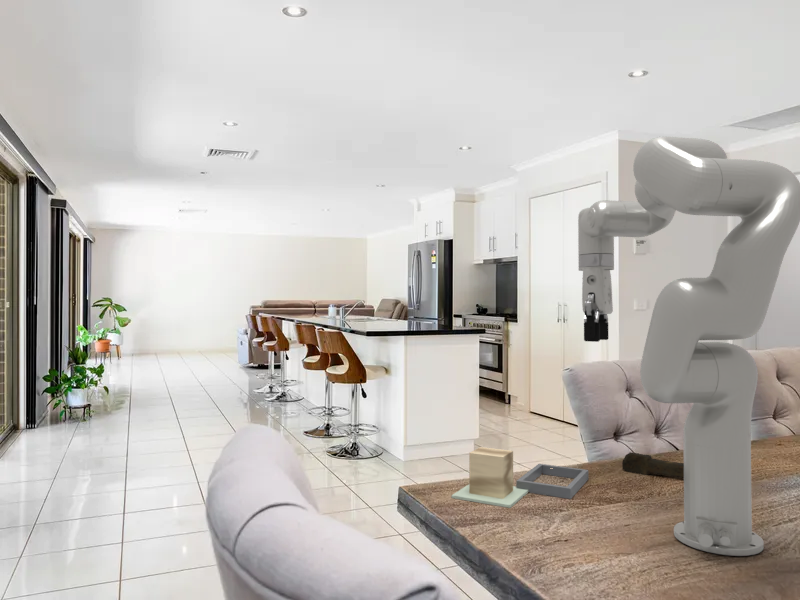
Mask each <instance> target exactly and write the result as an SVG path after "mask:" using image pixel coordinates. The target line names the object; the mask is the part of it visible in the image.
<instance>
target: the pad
mask: <svg viewBox="0 0 800 600" xmlns="http://www.w3.org/2000/svg"><path fill="white" fill-rule="evenodd" d="M526 495H528V490H525V489H519V488H516V485H513V491H512V492H511V493H510V494H509V495H507V496H506V497H505V498H504V499H501V498H495V497H489V496H483V495H477V494H471V493H469V484H467V485H465V486H463V487H462V488H460V489H459V490H457V491H456V492H454V493H453V494H451V499H456V500H462V501H468V502H475V503H480V504H484V505H491V506H496V507H497V506H498V507H502V508H503V507H504V508H509V509H511V508H512V507H513V506H514V505H515V504H516V503H518V502H519V501H520V500H521V499H522V498H524V497H525V496H526ZM523 496H524V497H523Z"/></svg>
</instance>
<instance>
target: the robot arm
mask: <svg viewBox="0 0 800 600" xmlns="http://www.w3.org/2000/svg"><path fill="white" fill-rule="evenodd" d="M632 171H633V176H634V178H635V184H634V194H635V198H636V200H637V201H636V200H610V199H609V200H598V201H596V202H594V203H593V204H592V205H591V206H590V207H586V208H583V209H581V210H580V211H579V213H578V217H577V219H578V220H577V221H578V223H577V224H578V225H577V228H578V232H577V233H578V234H577V235H578V239H577V240H578V241H577V242H578V245H577V246H578V253H577V254H578V256H577V257H578V271H580V272H582V288H581V289H582V294H581V297H582V298H581V304H582V312H583V313H584V317H583V341H584V342H594V343H595V342H598V343H599V342H600V341H607V340H608V339H609V318H608V316H609V315H611V314H612V313H613V312H614V311H613V309H614V308H613V306H614V305H613V304H614V303H613V287H612V286H613V285H612V276H611V275H612V274H611V271H614V270H615V255H614V254H615V238H616V237H618V238H619V237H621V238H622V237H623V238H645V237H648V236H652V235H653V234H656V233H658V232H659V231H661V230H663V229H664V228H666V227H668V226H669V225H670V223H671V222H672V220H673V218H674V216H675V214H676V211H677V212H679V213H682V214H685V215H691V216H706V217H707V216H710V217H711V216H712V217H713V216H714V217H739V218H741V221H740V223H738V224H737V225H736V226H734V227H733V229H732V230H731V231H729V233H728V234H727V236H726V237H725V238H724V239H723V241H722V242H721V243H720V246H719V248H718V250H717V253H716V257H715V261H714V264H713V268H712V269H711V272H710V274H709V275H708V276H707V277H682V278H679V279H675V280H672V281H670V282H669V283H667V284H666V286H664V288H662V290H661V291H660V292H659V294H658V296H657V298H656V301H655V303H654V306H653V309H652V314H651V318H650V321H649V327H648V331H647V335H646V339H645V344H644V347H643V351H642V355H641V357H642V358H641V363H640V372H639V373H640V375H639V376H640V382H641V385H642V388H643V391H644V393H646V395H647V396H648V397H649V398H651V399H652V400H653V401H656V402H659V403H664V404H692V406H691V408H690V409H689V411H688V413H687V416H686V418H685V421H684V425H683V463H684V478H683V516H684V517H683V520H684V521H680V522H677V523H676V524H674V526H673V535H674V537H675V539H677V540H678V541H679V542H681V543H682V544H685V545H687V546H689V547H691V548H693V549H696V550H699V551H703V552H707V553H710V554H716V555H723V556H735V557H745V556H747V557H748V556H753V555H757V554H759V553H761V552H762V551H763V550H764V545H765V542H764V539H763V538H762V537H761V536H760V535H758V534H757V533H756V532H754V531H753V529H752V527H753V526H752V525H753V522H752V518H753V517H752V516H753V515H752V513H753V512H752V506H753V505H752V414H753V407H754V406H753V405H754V400H755V396H756V390H757V386H758V382H759V381H758V377H759V374H758V372H759V371H758V370H759V369H758V366H757V363H756V361H755V359H754V357H753V355H752V354H751V353H750V352H748V350H746V348H744V347H741V346H739V345H737V344H734V343H730V342H720V341H729V340H730V341H732V340H734V341H735V340H744V339H748V338H751V337H753V336H755V335H756V334H757V333H758V332H759V331H760V330H761V327H762V326H763V325H764V324H763V323H764V321H765V318H766V315H767V313H768V310H769V306H770V303H771V299H772V296H773V293H774V290H775V287H776V285H777V280H778V277H779V275H780V274H779V273H780V270H781V266H782V263H783V260H784V257H785V255H786V253H787V251H788V249H789V247H790V244H791V243H792V240H793V238H794V236H795V234H796V233H797V232H796V231H797V230H798V227H799V224H800V181H799V178H797V176H796V175H795V173H793V172H792V171H791V170H790V169H788V168H786V167H785V166H783V165H780V164H776V163H773V162H770V161H769V162H768V161H764V160H763V161H762V160H756V159H755V160H753V159H741V158H740V159H737V158H736V159H735V158H734V159H731V158H728V157H727V153H726V151H725V150H724V148H722V146H720V145H719V144H718V143H716V142H714V141H712V140H708V139H703V138H693V137H679V136H678V137H677V136H657V137H655V138H652V139H651V138H650V139H649V140H648V141H646V142H645V143H643V145H642V146H641V147H640V148H639V149H638V151H637V152H636V155H635V157H634V160H633V170H632ZM699 341H700V342H699ZM702 341H703V342H702ZM708 341H709V342H708Z"/></svg>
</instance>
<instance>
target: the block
mask: <svg viewBox="0 0 800 600" xmlns="http://www.w3.org/2000/svg"><path fill="white" fill-rule="evenodd" d="M468 462H469V464H468V465H469V467H468V468H469V469H468V470H469V484H468V485H469V493H471V494H477V495H483V496H489V497H495V498H501V499H504V498H505V497H506V496H507V495H509V494H510V493H511V492H512V491H513V486H514V450H510V449H509V450H508V449H501V448H492V447H491V448H490V447H484V446H480V447H478V448H476V449H474V450H472V451H470V452H469V461H468Z"/></svg>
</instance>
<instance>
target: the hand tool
mask: <svg viewBox="0 0 800 600" xmlns="http://www.w3.org/2000/svg"><path fill="white" fill-rule="evenodd" d="M621 467H622V470H623V471H626V472H628V473H632V474H638V475H644V476H650V475H660V476H666V477H667V476H668V477H672V478H678V479H684V462H678V461H677V462H676V461H669V460H662V459H658V458H652V456H651V455H650V454H642V453H639V452H638V453H637V452H632V451H631V452H628V453H626V455H624V458H623V460H622V463H621Z"/></svg>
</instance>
